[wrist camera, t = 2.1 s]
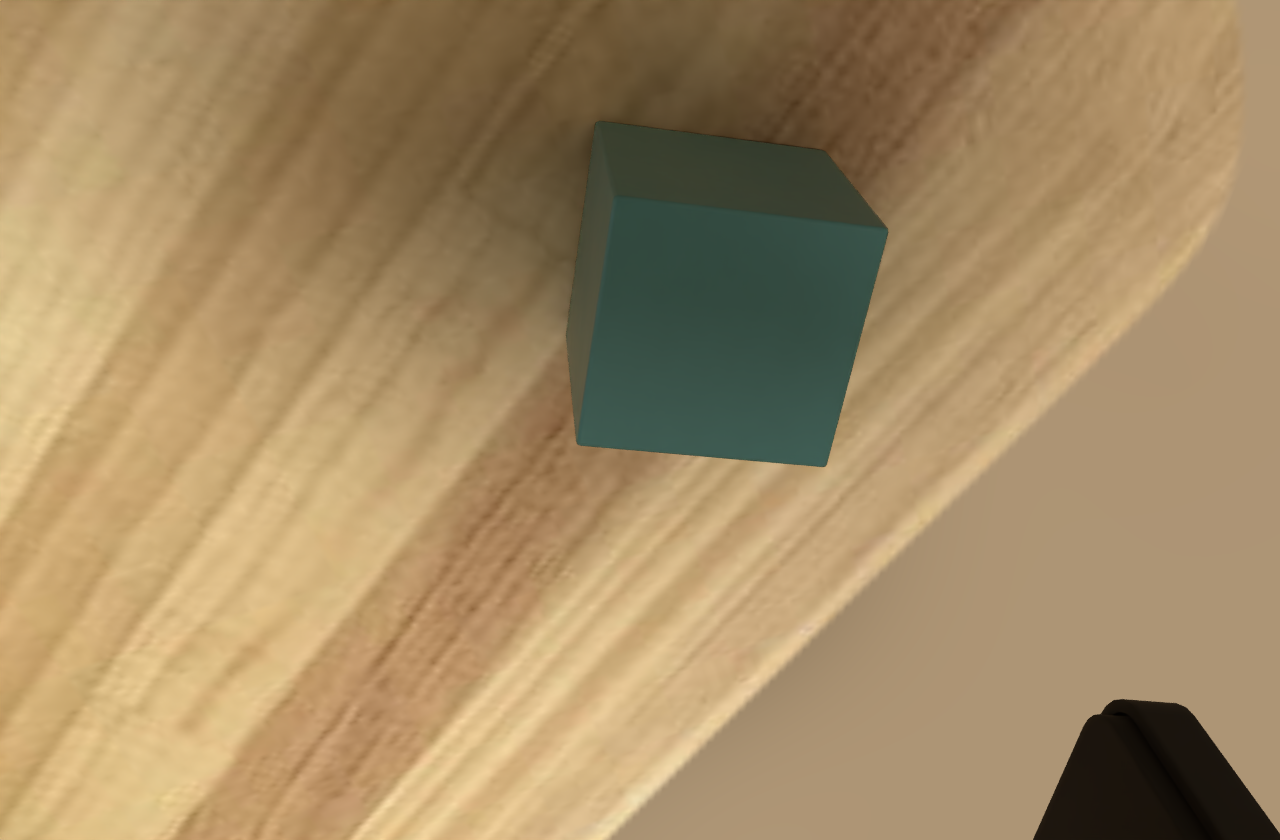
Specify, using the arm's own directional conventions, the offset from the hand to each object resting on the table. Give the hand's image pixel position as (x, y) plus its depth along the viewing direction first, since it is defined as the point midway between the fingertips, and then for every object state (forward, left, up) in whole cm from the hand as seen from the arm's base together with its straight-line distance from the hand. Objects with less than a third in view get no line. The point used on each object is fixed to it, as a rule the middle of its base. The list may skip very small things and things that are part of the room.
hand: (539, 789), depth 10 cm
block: (0, +3, -15) cm, 15 cm away
